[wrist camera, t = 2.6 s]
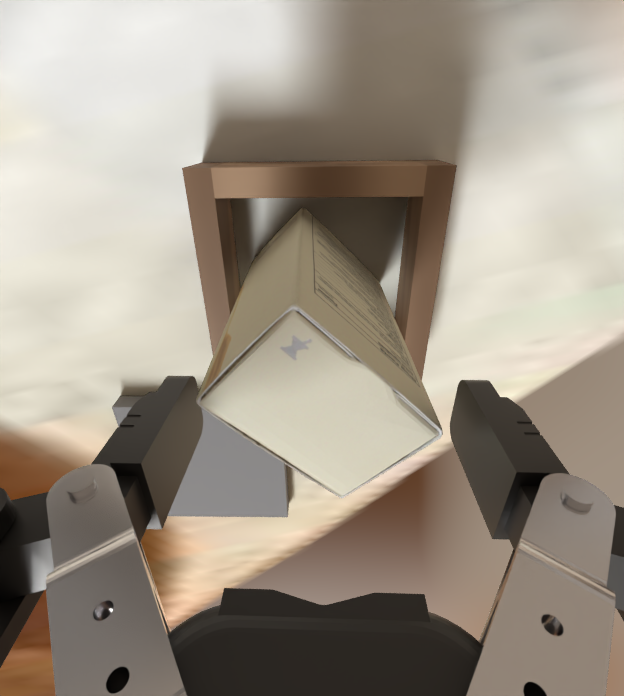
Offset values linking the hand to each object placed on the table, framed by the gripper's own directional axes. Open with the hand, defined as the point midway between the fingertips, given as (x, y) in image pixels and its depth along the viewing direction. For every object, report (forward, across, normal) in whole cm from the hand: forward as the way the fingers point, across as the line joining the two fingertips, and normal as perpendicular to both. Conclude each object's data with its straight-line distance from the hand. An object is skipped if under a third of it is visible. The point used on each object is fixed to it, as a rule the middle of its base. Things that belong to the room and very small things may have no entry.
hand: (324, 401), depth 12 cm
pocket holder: (+11, 0, 0) cm, 11 cm away
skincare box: (+11, 0, 0) cm, 11 cm away
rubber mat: (+11, +8, +14) cm, 19 cm away
